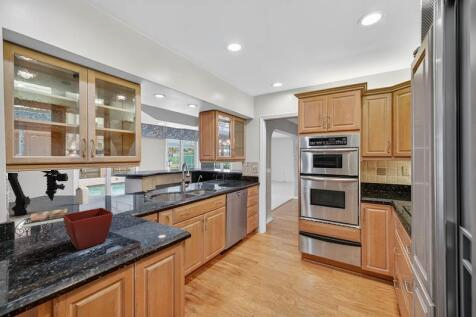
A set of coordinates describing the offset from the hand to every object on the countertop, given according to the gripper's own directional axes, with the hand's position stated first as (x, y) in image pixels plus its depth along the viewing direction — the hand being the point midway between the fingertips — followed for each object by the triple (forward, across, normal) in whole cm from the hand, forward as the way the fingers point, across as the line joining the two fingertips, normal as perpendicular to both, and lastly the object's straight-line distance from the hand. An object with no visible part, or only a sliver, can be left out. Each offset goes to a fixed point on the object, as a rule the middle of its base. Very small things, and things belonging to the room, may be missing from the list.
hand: (51, 200), depth 167 cm
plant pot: (+10, -85, -20) cm, 88 cm away
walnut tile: (+11, -14, -3) cm, 18 cm away
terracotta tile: (+11, -14, +7) cm, 19 cm away
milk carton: (+11, +19, -21) cm, 31 cm away
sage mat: (+11, -16, +1) cm, 20 cm away
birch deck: (+11, -1, +2) cm, 11 cm away
